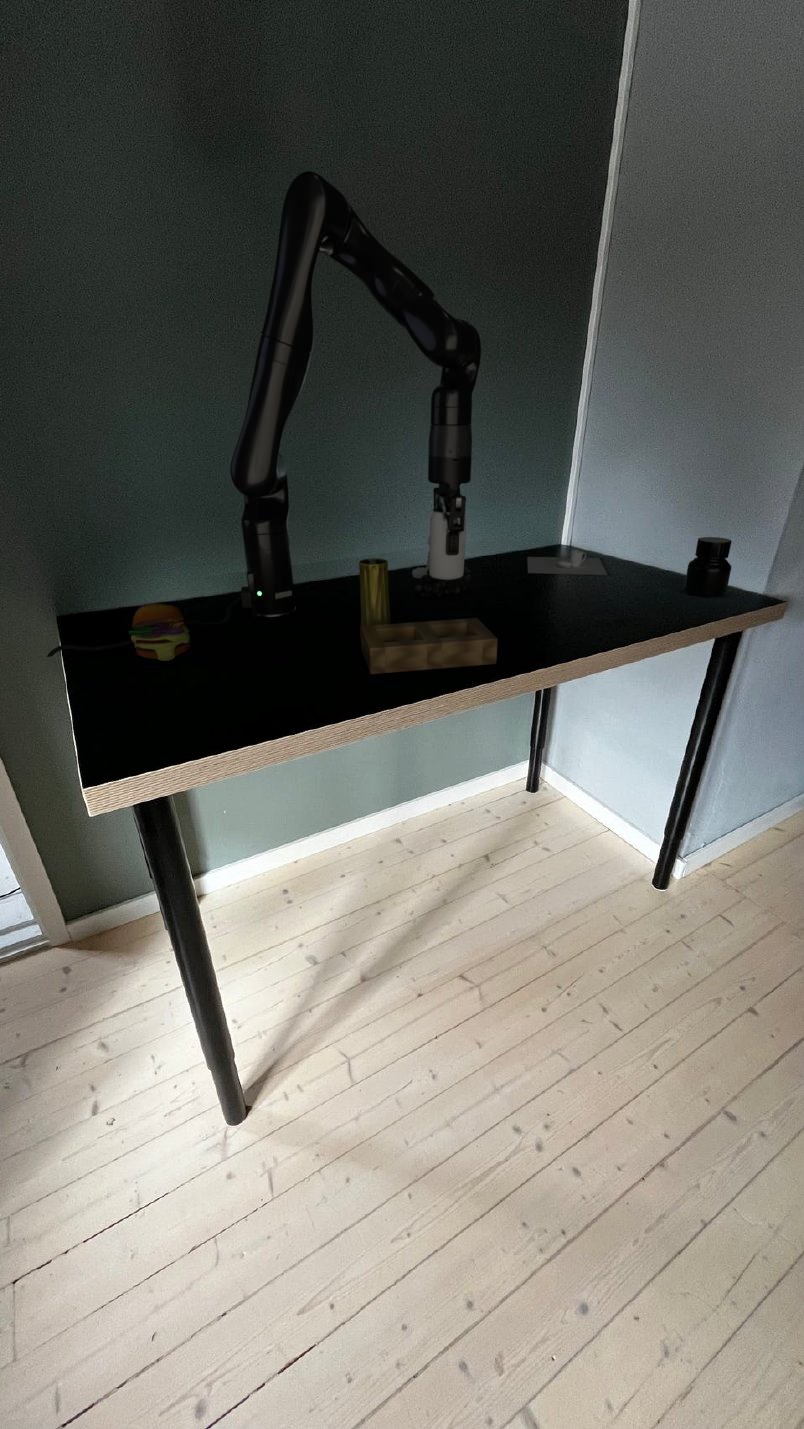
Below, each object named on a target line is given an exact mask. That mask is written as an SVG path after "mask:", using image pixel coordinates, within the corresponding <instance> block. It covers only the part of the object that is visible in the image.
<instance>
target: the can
mask: <svg viewBox="0 0 804 1429" xmlns="http://www.w3.org/2000/svg"><path fill="white" fill-rule="evenodd" d="M446 513H447V514H448V515H449V514H450V512H446ZM429 521H430V522H429V536H430V547H429V549H430V554H429V575H430V576H431V577H432V578H434V579H439V580H456V579H460V578H461V577H462V576H463V575H464V565H465V564H464V559H465V556H466V555H465V554H466V531H467V530H466V529H467V528H466V527H467V518H466V517H465V521H464V531H463V532H461V533H459V553H458V555H447V554H446V534H447V533H446V522H445V521H443V519H442V511H441V510H438V511H437V508H436V509H434V508H433V509H432V514H431V515H430V519H429ZM453 525H457V521H456V520H454V521H453Z"/></svg>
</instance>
